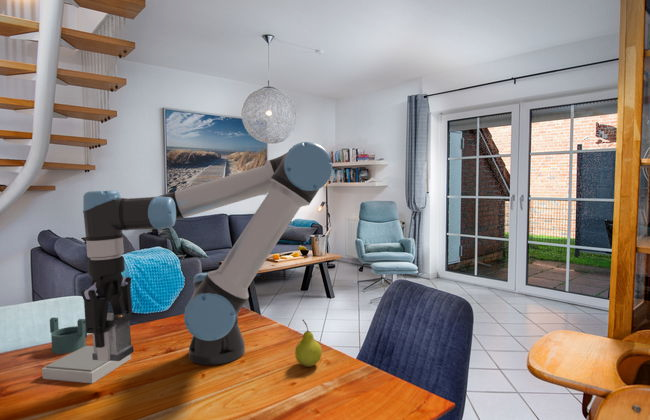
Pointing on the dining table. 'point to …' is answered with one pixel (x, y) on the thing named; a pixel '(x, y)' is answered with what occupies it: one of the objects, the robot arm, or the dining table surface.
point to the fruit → (308, 350)
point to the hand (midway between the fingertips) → (112, 354)
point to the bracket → (67, 337)
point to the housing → (117, 336)
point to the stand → (80, 367)
